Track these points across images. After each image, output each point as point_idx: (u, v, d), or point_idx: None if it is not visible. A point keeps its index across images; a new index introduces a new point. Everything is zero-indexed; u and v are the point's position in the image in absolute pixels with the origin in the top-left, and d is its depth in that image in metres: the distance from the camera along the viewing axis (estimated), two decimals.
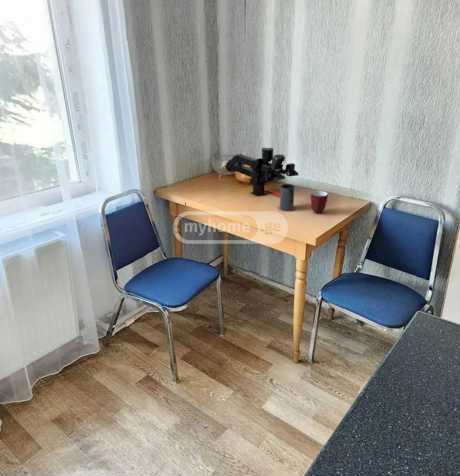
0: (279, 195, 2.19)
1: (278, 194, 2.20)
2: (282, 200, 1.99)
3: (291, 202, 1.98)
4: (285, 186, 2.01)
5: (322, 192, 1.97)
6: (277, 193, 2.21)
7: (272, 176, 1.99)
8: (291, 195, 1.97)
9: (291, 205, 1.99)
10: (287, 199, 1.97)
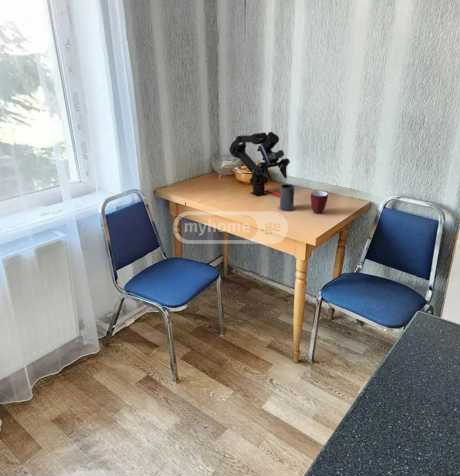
0: (279, 195, 2.19)
1: (278, 194, 2.20)
2: (282, 200, 1.99)
3: (291, 202, 1.98)
4: (285, 186, 2.01)
5: (322, 192, 1.97)
6: (277, 193, 2.21)
7: (262, 171, 2.02)
8: (291, 195, 1.97)
9: (291, 205, 1.99)
10: (287, 199, 1.97)
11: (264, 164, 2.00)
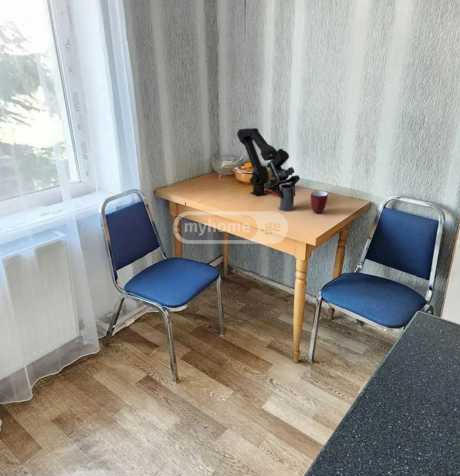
0: None
1: None
2: (282, 200, 1.99)
3: (291, 202, 1.98)
4: (285, 186, 2.01)
5: (322, 192, 1.97)
6: None
7: (273, 188, 1.98)
8: (291, 195, 1.97)
9: (291, 205, 1.99)
10: (287, 199, 1.97)
11: (274, 182, 1.95)
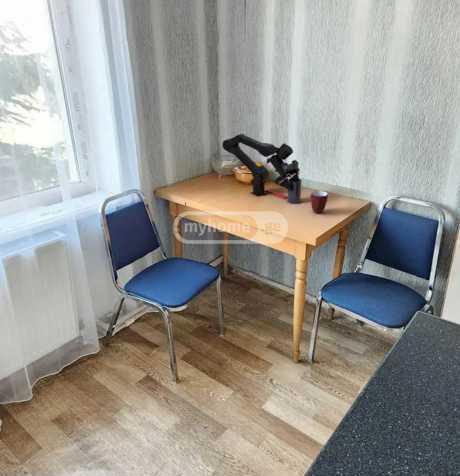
0: (279, 195, 2.19)
1: (278, 194, 2.20)
2: (292, 194, 2.07)
3: (300, 194, 2.08)
4: (290, 180, 2.09)
5: (322, 192, 1.97)
6: (277, 193, 2.21)
7: (282, 182, 2.04)
8: (300, 188, 2.07)
9: None
10: (297, 192, 2.06)
11: (285, 176, 2.02)
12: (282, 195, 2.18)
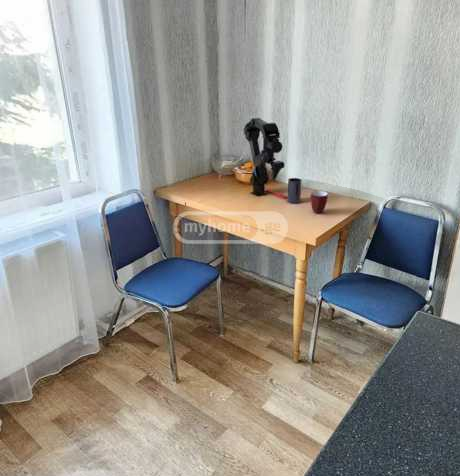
0: (279, 195, 2.19)
1: (278, 194, 2.20)
2: (292, 194, 2.07)
3: (300, 194, 2.08)
4: (290, 180, 2.09)
5: (322, 192, 1.97)
6: (277, 193, 2.21)
7: None
8: (300, 188, 2.07)
9: None
10: (297, 192, 2.06)
11: None
12: (282, 195, 2.18)
